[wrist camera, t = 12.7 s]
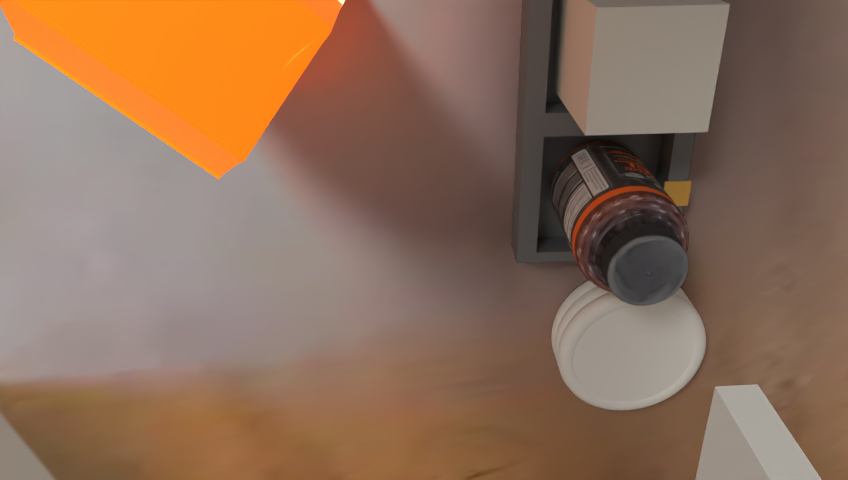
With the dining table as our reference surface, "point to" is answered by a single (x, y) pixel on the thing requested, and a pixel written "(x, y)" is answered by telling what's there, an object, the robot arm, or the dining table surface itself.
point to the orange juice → (182, 62)
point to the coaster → (626, 347)
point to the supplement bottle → (620, 223)
